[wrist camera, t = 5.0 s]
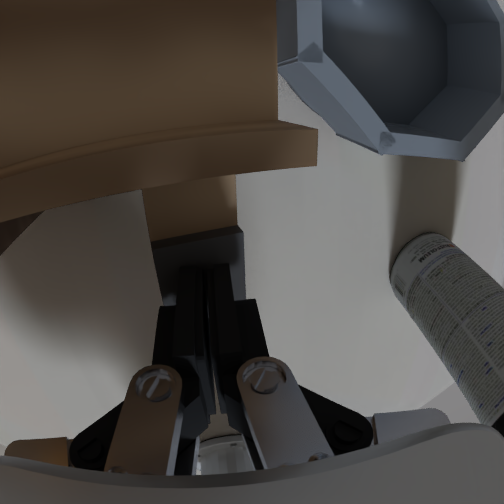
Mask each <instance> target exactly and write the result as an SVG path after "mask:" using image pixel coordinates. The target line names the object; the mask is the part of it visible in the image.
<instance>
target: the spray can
mask: <svg viewBox="0 0 504 504" xmlns="http://www.w3.org/2000/svg"><path fill="white" fill-rule="evenodd" d="M390 283H391V286H392V289H393V292H394V294H395V296H396V297H397V299H398V300H399V301H400V303H401V304H402V305H403V307H404V308H405V309H406V311H407V312H408V313H409V315H410V316H411V318H412V319H413V321H414V322H415V323H416V324H417V326H418V327H419V329H420V330H421V332H422V333H423V334H424V336H425V337H426V339H427V340H428V342H429V343H430V345H431V346H432V347H433V349H434V350H435V352H436V353H437V355H438V356H439V358H440V359H441V361H442V362H443V364H444V365H445V367H446V368H447V370H448V371H449V373H450V374H451V376H452V377H453V379H454V380H455V382H456V384H457V385H458V387H459V388H460V390H461V391H462V393H463V395H464V396H465V398H466V399H467V401H468V403H469V404H470V406H471V408H472V410H473V411H474V413H475V414H476V416H477V418H478V420H479V421H480V423H481V424H484V425H488V426H490V427H493V428H494V429H496V430H497V431H498V432H499V433H500V434H501V435H502V436H503V437H504V289H503V288H502V287H501V286H500V285H499V284H498V283H497V282H496V281H495V280H494V279H493V278H492V277H491V276H490V275H489V274H488V273H486V272H485V271H484V270H483V269H482V268H481V267H480V266H479V265H478V264H477V263H475V262H474V261H473V260H472V259H471V258H470V257H469V256H468V255H466V254H465V253H464V252H463V251H462V250H461V249H459V248H458V247H457V246H456V245H455V244H453V243H452V242H451V241H450V240H449V239H447V238H446V237H444V236H442V235H440V234H437V233H432V232H430V233H425V234H423V235H420V236H418V237H416V238H415V239H413V240H412V241H410V242H409V243H408V244H407V245H406V246H405V247H404V248H403V250H402V251H401V252H400V253H399V255H398V257H397V259H396V261H395V263H394V265H393V267H392V271H391V276H390Z"/></svg>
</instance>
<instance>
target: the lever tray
mask: <svg viewBox="0 0 504 504" xmlns="http://www.w3.org/2000/svg"><path fill="white" fill-rule="evenodd" d="M317 147H318V129H314V128H310V127H306V126H302V125H298V124H294V123H289V122H285V121H280V120H278V69H277V19H276V0H0V223H1V222H4V221H8V220H11V219H15V218H18V217H22V216H25V215H29V214H33V213H37V212H40V211H44V210H48V209H52V208H56V207H60V206H64V205H69V204H73V203H77V202H82V201H86V200H90V199H95V198H100V197H104V196H109V195H114V194H119V193H124V192H129V191H134V190H139V189H142V194H143V201H144V207H145V214H146V220H147V225H148V231H149V237H150V242H151V248H152V253H153V258H154V263H155V268H156V273H157V277H158V282H159V287H160V291H161V296H162V300H163V304H164V306H172V305H176V298H177V288H178V278H179V268H180V267H183V266H196V269H197V270H199V269H202V270H203V278H204V286H205V294H206V302H207V310H208V317H209V309H208V283H207V269H211V268H213V264H220V263H229V266H230V274H231V281H232V287H233V294H234V301H235V300H246V289H245V262H244V234H243V231H242V230H241V229H240V227H239V226H238V225H237V202H236V177H235V174H242V173H251V172H259V171H268V170H277V169H287V168H298V167H309V166H317Z"/></svg>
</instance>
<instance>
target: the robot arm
mask: <svg viewBox="0 0 504 504" xmlns="http://www.w3.org/2000/svg"><path fill="white" fill-rule="evenodd" d="M207 283H208V309H209V317H208V310H207V302H206V294H205V286H204V278H203V270H202V269H199V270H197V269H196V266H183V267H180V268H179V278H178V288H177V298H176V305H172V306H160V308H159V313H158V320H157V328H156V335H155V343H154V351H153V360H152V365H151V366H147V367H145V368H143V369H141V370H139V371H138V372H137V373H136V374H135V375H134V376H133V378H132V380H131V382H130V384H129V387H128V390H127V393H126V397H125V400H124V401H123V402H121V403H120V404H119V405H117V406H116V407H115V408H113V409H112V410H111V411H109V412H108V413H107V414H105V415H104V416H103V417H101V418H100V419H99V420H97V421H96V422H94V423H93V424H92V425H90V426H89V427H88V428H86V429H85V430H83V431H82V432H81V433H79V434H78V435H77V436H76V437H75V438H74V439H68V438H67V437H59V438H47V439H31V440H17V441H13V442H12V443H11V444H9V445H8V447H7V448H6V450H5V455H4V456H0V504H504V437H503V436H502V435H501V434H500V433H499V432H498V431H497V430H496V429H494V428H493V427H490V426H488V425H484V424H478V423H454V424H450V421H449V419H448V417H447V415H445V414H444V413H443V412H442V411H440V410H438V409H434V408H433V409H432V408H428V409H419V410H410V411H401V412H390V413H377V414H374V415H373V417H364V416H362V415H361V414H359V413H357V412H355V411H353V410H350V409H348V408H346V407H344V406H342V405H340V404H337V403H335V402H333V401H331V400H329V399H327V398H325V397H323V396H321V395H318V394H316V393H314V392H312V391H310V390H308V389H306V388H304V387H302V386H300V385H298V384H297V382H296V380H295V378H294V376H293V374H292V372H291V370H290V369H289V367H288V366H287V365H286V364H285V363H284V362H282V361H281V360H279V359H276V358H273V357H269V353H268V349H267V345H266V341H265V336H264V332H263V328H262V324H261V319H260V315H259V311H258V307H257V303H256V300H255V299H246V300H235V301H234V294H233V287H232V281H231V274H230V266H229V263H220V264H213V268H211V269H207ZM212 364H213V365H212ZM213 370H214V376H215V382H216V388H217V394H218V399H219V405H220V410H221V414H224V413H227V415H228V421H229V426H231V427H232V428H234V429H236V430H237V431H239V432H240V433H242V435H234V436H225V437H219V438H214V439H210V440H207V441H204V442H202V443H200V434H201V433H202V432H203V431H204V430H205V429H207V428H208V424H210V415H211V414H216V406H215V393H214V379H213ZM196 469H197V470H199V471H201V475H196Z"/></svg>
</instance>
